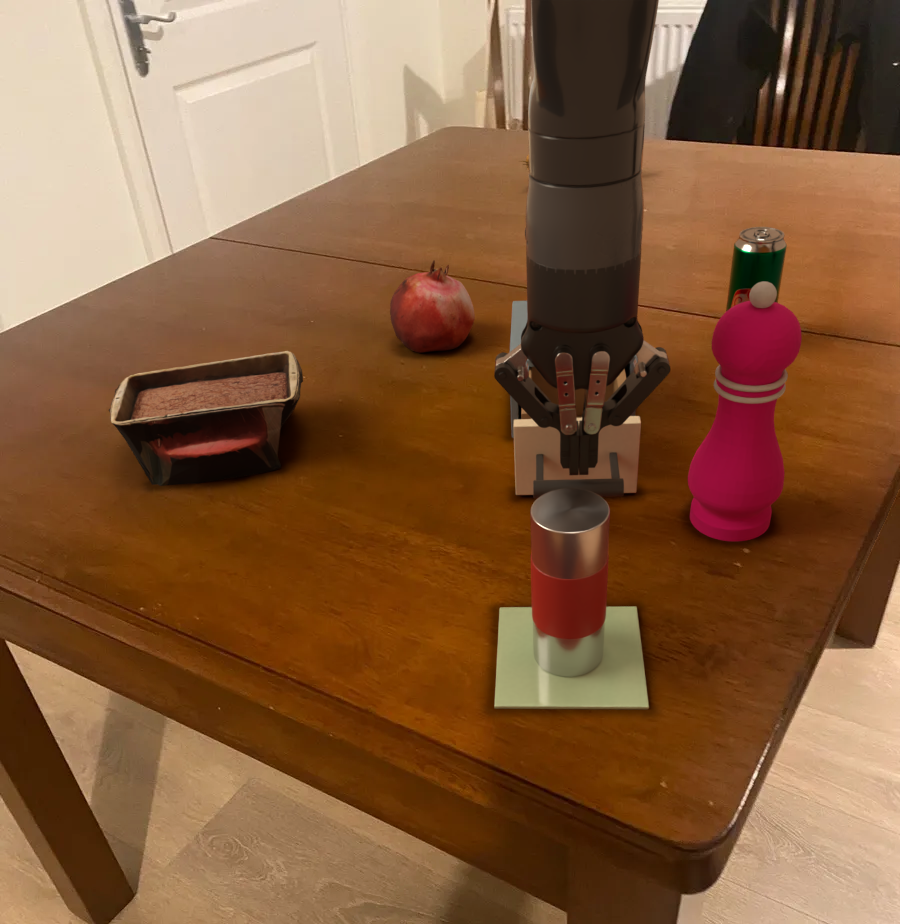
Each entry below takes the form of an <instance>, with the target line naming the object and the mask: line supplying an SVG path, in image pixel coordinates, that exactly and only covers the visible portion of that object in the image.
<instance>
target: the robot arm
mask: <svg viewBox="0 0 900 924" xmlns="http://www.w3.org/2000/svg"><path fill="white" fill-rule="evenodd" d="M659 2H660V0H530V9H531V10H530V12H531V13H530V14H531V15H530V17H531V37H532V38H531V39H532V62H533V78H532V81H531V84H530V90H529V96H528V108H527V145H528V147H527V148H528V151H527V152H528V153H527V155H528V156H529V170H528V183H527V184H528V185H527V193H526V203H525V228H524V238H525V256H526V257H525V258H526V259H525V261H526V265H525V266H526V301H527V323H526V326H525V328H524V330H523V331H522V334H521V344H519V345H518V346H517V347H516V348H514V349H513V350H512V351H511V352H510V351H509V352H500V353H497V355H496V357H495V360H494V374H493V375H494V376H493V377H494V380H496V382H497V383H498V384H499V385H500V386H501V387H502V388H503V390H505V391H506V393H507V394H508V395H509V397H510V396H511V397H512V398H513V399H514V400H515V401H516V402H517V403H518V404H519V405H520V406H521V408H522V409H523V410H524V411H525V412H526V413H527V414H528V415H529V416H530V417H531V418H532V419H533V421H534V422H535V423H536V424H537V425H538V426H539V427H541V428H547V427H553V428H555V429H557V430H558V431H559V432H560V463H561V465H562V468H563V469H567V468H569V475H588V470H589V468H595V466H596V464H597V462H598V440H599V432H600V430H601V429H602V428H603V427H605V426H608V425H612V426H620V425H622V424H623V423H624V422H625V421H626V420H627V419H628V418H629V416H630V415H631V414H632V413H633V412H634V411H635V410H636V411H637V409H638V408H639V407H640V406H641V404H642V403H643V402H644V401H645V400H646V399H647V398H648V397H649V396H650V395H651V394H652V393H653V392H654V391H655V389H657V387H658V386H659V385H660V384H661V383H662V382H663V381H664V380H665V379H666V378H667V377H668V376H669V374H670V372H671V366H670V360H669V356H668V354H667V350H666V349H665V347H660V346H657V347H654V346H653V345H652V344H650V343H649V342H648V341H646V340H645V339H644V337H645V336H644V334H643V328H642V326H641V324H640V322H639V319H638V311H639V295H640V280H641V263H642V250H643V249H642V245H643V231H644V217H645V216H644V213H645V212H644V211H645V205H644V204H645V200H644V199H645V198H644V187H643V163H644V162H643V160H644V145H645V128H646V127H645V126H646V80H647V79H646V77H647V72H648V67H649V62H650V57H651V56H650V55H651V53H652V52H651V51H652V46H653V42H654V41H653V40H654V34H655V28H656V21H657V15H658V8H659ZM635 355H636V358H635V360H634V362H633V368H634V371H633V372H632V373H631V374H630V375H629V376H628V378H627V379H626V380H625V381H624V382H623V383H622V384H621V385H620V387H619V388H618V389H617V390H616V391H615V392H614V393H613V394H612V395H611V397H610V398H609V399H608V400H607V401H606V402H604V399H605V391H606V386H608V385H610V384H611V383H613V382H614V381H615V380H616V378H617V377H618V376H619V375H620V373H621V372H622V371H623V370H624V369H625V367H626V366H627V365H628V364H629V363H630V361H631V360H632V359H633V358H634V357H635ZM527 359H529V361H530V362H531V363H532V364H533V365H534V367H535V368H536V369H537V370H538V372H539V373H540V374H541V375H542V376H543V378H544V379H545V380H546V381H547V382H548V384H550V385H551V386H552V387H554V388H557V390H558V402H559V405H558V404H554V403H552V402H551V400H550V399H549V398H548V397H547V396H546V395H545V394H544V393H543V391H542V390H541V389H540V388H539V387H538V386H537V385H536V384H535V383H534V381H533V380H532V379H531V378H530V377H529V365H528V363H527V362H526V361H527ZM578 389H585V393H584V402H583V412H582V420H580V421H579V423H578V421H577V418H576V403H575V390H578ZM636 411H635V412H636Z"/></svg>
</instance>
